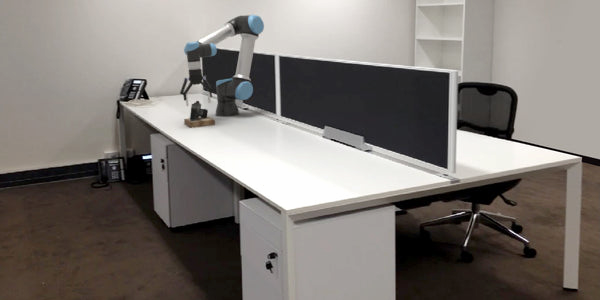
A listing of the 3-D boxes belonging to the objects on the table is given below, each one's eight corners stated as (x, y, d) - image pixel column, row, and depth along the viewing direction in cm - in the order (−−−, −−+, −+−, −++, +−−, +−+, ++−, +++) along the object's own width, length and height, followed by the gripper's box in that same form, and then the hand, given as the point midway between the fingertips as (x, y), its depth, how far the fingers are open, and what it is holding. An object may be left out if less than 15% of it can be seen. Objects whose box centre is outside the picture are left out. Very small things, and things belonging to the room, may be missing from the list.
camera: (204, 123, 351) (206, 106, 349) (188, 120, 350) (191, 103, 348) (207, 118, 368) (209, 102, 366) (192, 115, 367) (194, 99, 365)
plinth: (208, 121, 368) (208, 116, 367) (215, 124, 355) (214, 119, 354) (184, 124, 362) (184, 118, 362) (190, 127, 349) (189, 122, 348)
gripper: (213, 66, 359) (217, 101, 364) (172, 70, 350) (176, 106, 355) (217, 67, 352) (220, 102, 357) (175, 71, 343) (179, 107, 348)
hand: (198, 104), depth 356 cm, fingers open, 13 cm apart
